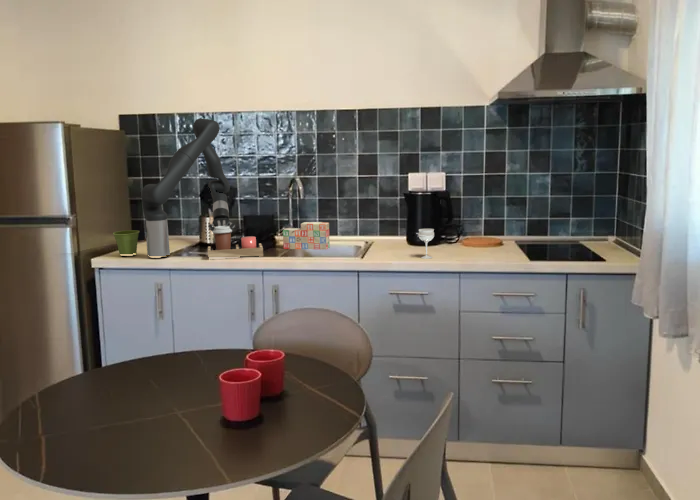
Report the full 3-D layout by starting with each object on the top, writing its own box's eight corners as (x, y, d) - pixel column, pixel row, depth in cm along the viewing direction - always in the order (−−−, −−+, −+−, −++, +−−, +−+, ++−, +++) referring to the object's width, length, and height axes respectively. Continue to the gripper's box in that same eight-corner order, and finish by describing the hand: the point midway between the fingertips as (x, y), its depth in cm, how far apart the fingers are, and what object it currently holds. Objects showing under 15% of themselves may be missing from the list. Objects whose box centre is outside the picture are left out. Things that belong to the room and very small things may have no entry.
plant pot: (109, 257, 304) (106, 233, 302) (128, 253, 314) (126, 229, 312) (127, 259, 298) (125, 234, 296) (147, 254, 309) (145, 230, 307)
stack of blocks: (283, 249, 313) (281, 223, 311) (287, 247, 319) (286, 221, 317) (326, 249, 308) (325, 223, 306) (330, 247, 314) (329, 221, 312)
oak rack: (208, 255, 302) (208, 246, 302) (261, 251, 307) (260, 243, 306) (208, 260, 289) (207, 251, 289) (263, 256, 294) (262, 247, 293)
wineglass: (422, 259, 276) (421, 231, 274) (416, 256, 282) (415, 229, 280) (437, 258, 278) (436, 230, 276) (430, 255, 284) (430, 228, 282)
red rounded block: (239, 255, 299) (238, 238, 298) (249, 253, 304) (248, 236, 303) (249, 256, 295) (248, 238, 294) (259, 254, 301) (258, 236, 299)
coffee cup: (235, 252, 306) (233, 227, 304) (215, 254, 303) (213, 228, 301) (231, 249, 314) (229, 225, 312) (212, 251, 311) (210, 226, 309)
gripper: (206, 207, 318) (208, 236, 308) (234, 206, 321) (236, 235, 311) (207, 217, 324) (208, 246, 314) (234, 216, 327) (236, 244, 317)
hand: (222, 240), depth 313 cm, fingers closed
